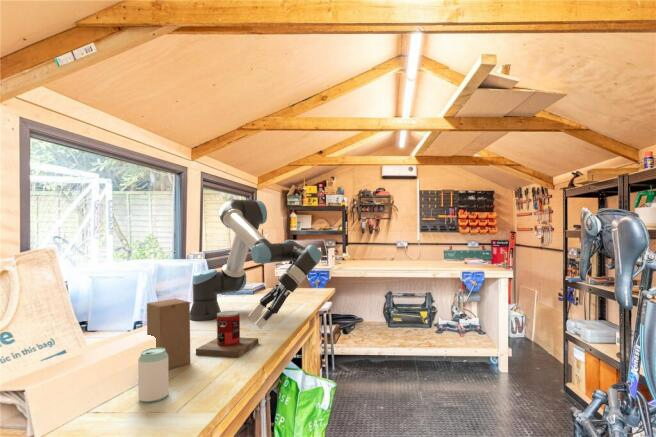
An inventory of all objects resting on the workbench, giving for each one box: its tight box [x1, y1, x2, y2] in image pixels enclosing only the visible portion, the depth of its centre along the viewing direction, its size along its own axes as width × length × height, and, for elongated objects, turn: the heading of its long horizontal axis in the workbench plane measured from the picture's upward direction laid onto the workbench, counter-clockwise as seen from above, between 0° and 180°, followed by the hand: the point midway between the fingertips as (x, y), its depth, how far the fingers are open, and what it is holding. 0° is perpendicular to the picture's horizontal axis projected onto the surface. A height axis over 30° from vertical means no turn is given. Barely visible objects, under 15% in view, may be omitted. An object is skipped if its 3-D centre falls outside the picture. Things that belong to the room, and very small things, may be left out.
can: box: [137, 348, 170, 404], centre depth 96 cm, size 7×7×12 cm
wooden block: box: [146, 298, 191, 370], centre depth 121 cm, size 10×10×20 cm
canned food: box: [216, 310, 241, 346], centre depth 135 cm, size 8×8×11 cm
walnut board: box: [195, 336, 259, 359], centre depth 135 cm, size 16×16×2 cm
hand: (253, 322), depth 139 cm, fingers open, 13 cm apart
